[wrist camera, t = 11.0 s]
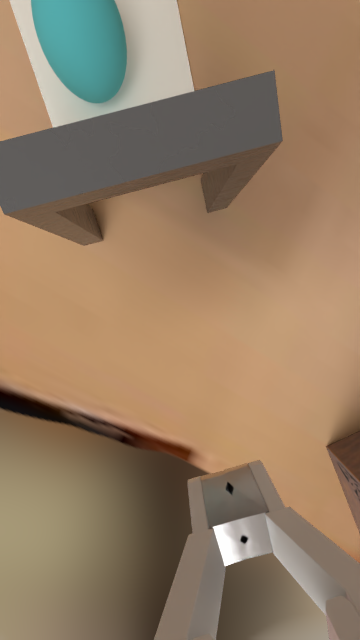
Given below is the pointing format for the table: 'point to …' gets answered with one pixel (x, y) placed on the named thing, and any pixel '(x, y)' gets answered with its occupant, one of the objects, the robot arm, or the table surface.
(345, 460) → the tissue box cover
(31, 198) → the bridge
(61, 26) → the ball
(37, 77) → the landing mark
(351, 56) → the table surface
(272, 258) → the table surface
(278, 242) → the table surface
